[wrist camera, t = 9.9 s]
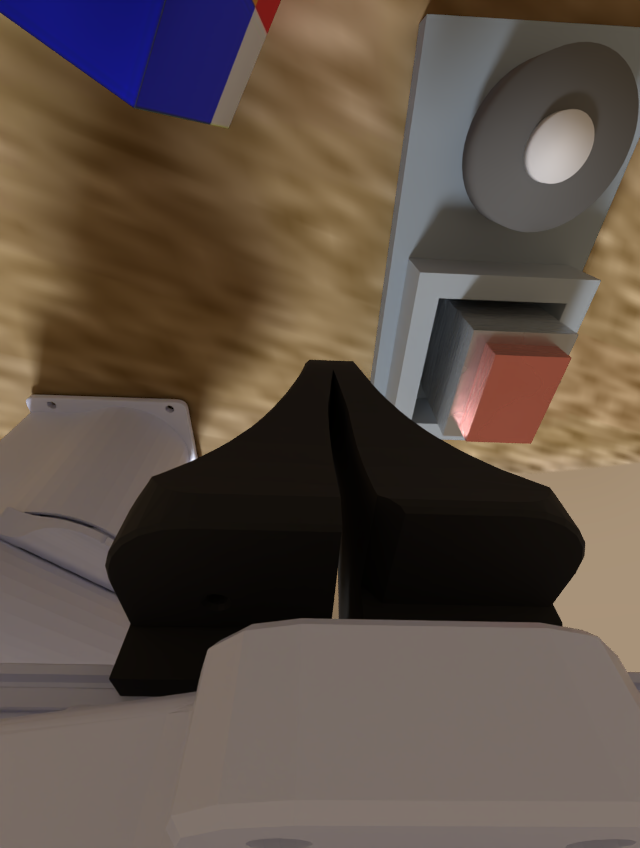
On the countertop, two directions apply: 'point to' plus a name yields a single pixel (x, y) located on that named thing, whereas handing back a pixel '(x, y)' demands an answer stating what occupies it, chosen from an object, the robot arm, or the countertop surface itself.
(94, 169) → the countertop surface
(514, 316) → the red and grey block
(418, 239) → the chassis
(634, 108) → the wheel
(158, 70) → the puzzle toy
